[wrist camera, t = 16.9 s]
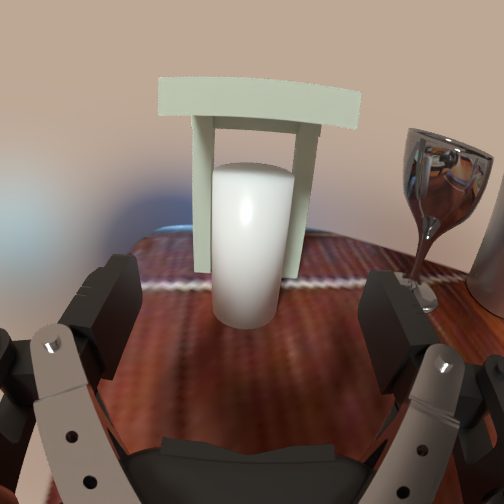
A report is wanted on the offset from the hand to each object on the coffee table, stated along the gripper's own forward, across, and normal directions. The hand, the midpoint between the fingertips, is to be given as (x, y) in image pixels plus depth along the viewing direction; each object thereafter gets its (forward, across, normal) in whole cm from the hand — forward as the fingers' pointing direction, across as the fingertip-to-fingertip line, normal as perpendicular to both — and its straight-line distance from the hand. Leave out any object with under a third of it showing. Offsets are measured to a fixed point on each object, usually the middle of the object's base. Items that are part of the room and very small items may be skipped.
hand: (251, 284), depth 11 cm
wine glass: (+14, -16, +11) cm, 24 cm away
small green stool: (+12, 0, +10) cm, 16 cm away
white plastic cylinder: (+11, 0, +11) cm, 15 cm away
